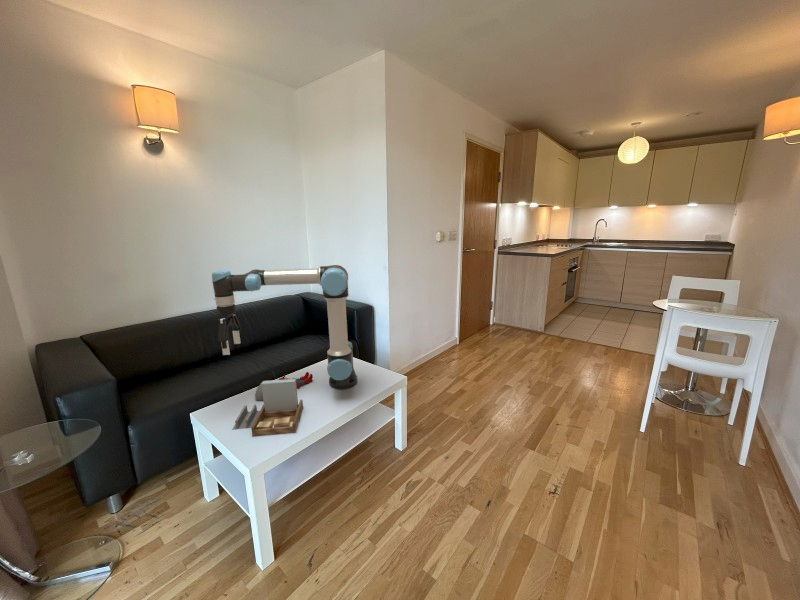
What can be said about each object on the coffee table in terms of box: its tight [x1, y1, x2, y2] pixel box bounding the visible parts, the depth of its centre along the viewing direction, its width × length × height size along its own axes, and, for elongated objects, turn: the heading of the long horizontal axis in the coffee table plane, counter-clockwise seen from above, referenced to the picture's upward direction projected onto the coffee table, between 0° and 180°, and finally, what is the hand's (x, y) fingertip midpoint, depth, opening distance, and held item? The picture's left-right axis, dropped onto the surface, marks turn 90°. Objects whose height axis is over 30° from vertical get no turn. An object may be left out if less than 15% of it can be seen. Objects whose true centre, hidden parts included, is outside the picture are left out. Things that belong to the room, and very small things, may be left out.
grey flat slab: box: [261, 378, 299, 412], centre depth 145 cm, size 14×3×16 cm, turn 97°
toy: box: [254, 371, 314, 402], centre depth 169 cm, size 16×10×30 cm
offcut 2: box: [274, 417, 290, 428], centre depth 135 cm, size 6×4×2 cm, turn 103°
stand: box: [231, 404, 260, 431], centre depth 143 cm, size 13×8×4 cm, turn 7°
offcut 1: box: [256, 422, 272, 429], centre depth 135 cm, size 5×4×3 cm
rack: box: [250, 399, 304, 437], centre depth 141 cm, size 17×19×5 cm
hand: (232, 348), depth 152 cm, fingers open, 13 cm apart
